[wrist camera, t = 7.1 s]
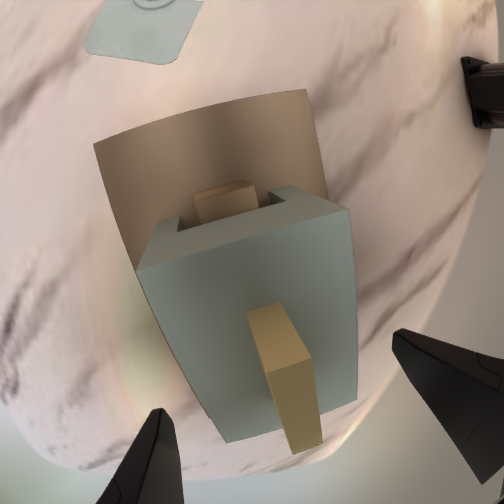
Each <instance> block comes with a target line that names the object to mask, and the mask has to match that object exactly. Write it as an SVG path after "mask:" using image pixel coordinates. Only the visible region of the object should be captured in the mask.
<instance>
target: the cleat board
mask: <svg viewBox="0 0 504 504" xmlns="http://www.w3.org/2000/svg"><path fill="white" fill-rule="evenodd" d="M93 146H94V150H95V153H96V157H97V161H98V165H99V168H100V172H101V175H102V179H103V182H104V185H105V189H106V192H107V195H108V198H109V201H110V205H111V208H112V211H113V214H114V217H115V220H116V222H117V225H118V228H119V231H120V234H121V236H122V239H123V242H124V245H125V247H126V250H127V253H128V255H129V258H130V260H131V263H132V265H133V268H134V270H135V273H136V269H137V266H138V264H139V262H140V259H141V257H142V255H143V253H144V250H145V248H146V246H147V244H148V241H149V239H150V237H151V235H152V233H153V231H154V228H155V226H156V224H157V223H159V222H162V221H165V220H168V219H171V218H174V217H178V216H180V219H181V222H182V225H183V228H184V230H186V229H190V228H193V227H196V226H200V225H203V224H206V223H210V222H213V221H217V220H220V219H223V218H227V217H230V216H234V215H237V214H241V213H245V212H248V211H252V210H255V209H259V208H263V207H266V206H270V205H272V204H271V200H270V195H269V190H273V189H277V188H281V187H285V186H289V185H292V186H294V187H297V188H299V189H302V190H304V191H307V192H309V193H312V194H314V195H317V196H319V197H321V198H324V199H326V200H328V194H327V188H326V182H325V177H324V171H323V165H322V160H321V155H320V150H319V144H318V140H317V135H316V130H315V125H314V121H313V116H312V112H311V107H310V103H309V99H308V95H307V91H306V89H300V90H292V91H285V92H278V93H271V94H265V95H259V96H254V97H248V98H243V99H238V100H233V101H229V102H224V103H220V104H215V105H211V106H207V107H203V108H199V109H195V110H191V111H188V112H184V113H181V114H177V115H174V116H170V117H167V118H164V119H160V120H157V121H154V122H151V123H148V124H145V125H142V126H139V127H136V128H133V129H131V130H128V131H125V132H122V133H120V134H117V135H114V136H112V137H109V138H107V139H104V140H102V141H99V142H97V143H94V144H93ZM136 275H137V273H136ZM137 278H138V276H137ZM138 280H139V278H138ZM139 282H140V281H139ZM140 285H141V283H140ZM141 287H142V285H141ZM142 290H143V288H142ZM143 292H144V290H143ZM144 294H145V292H144ZM145 296H146V295H145ZM146 299H147V297H146ZM147 301H148V299H147ZM148 303H149V301H148ZM149 305H150V304H149ZM150 308H151V306H150ZM151 310H152V308H151ZM152 312H153V310H152ZM153 314H154V312H153ZM154 316H155V314H154ZM155 319H156V317H155ZM156 321H157V319H156ZM157 323H158V321H157ZM158 325H159V323H158ZM159 327H160V325H159ZM160 329H161V327H160ZM161 331H162V329H161ZM162 333H163V331H162ZM163 335H164V333H163ZM164 337H165V335H164ZM165 339H166V337H165ZM166 341H167V339H166ZM167 343H168V341H167ZM168 345H169V343H168ZM169 347H170V345H169ZM170 349H171V347H170ZM171 351H172V349H171ZM172 353H173V351H172ZM173 355H174V353H173ZM174 357H175V355H174ZM175 359H176V357H175ZM176 361H177V359H176ZM177 363H178V361H177ZM178 365H179V363H178ZM179 367H180V368H181V366H180V365H179ZM181 370H182V368H181ZM182 372H183V370H182ZM183 374H184V372H183ZM184 376H185V374H184ZM185 378H186V379H187V377H186V376H185ZM187 381H188V379H187ZM188 383H189V381H188ZM189 385H190V383H189ZM190 387H191V388H192V386H191V385H190ZM192 390H193V388H192ZM193 392H194V390H193ZM194 394H195V395H196V393H195V392H194ZM196 397H197V395H196ZM197 399H198V397H197ZM198 401H199V402H200V400H199V399H198ZM200 404H201V402H200ZM201 406H202V407H203V405H202V404H201ZM203 409H204V407H203ZM204 411H205V412H206V410H205V409H204ZM206 414H207V412H206ZM207 416H208V417H209V415H208V414H207ZM209 418H210V417H209Z"/></svg>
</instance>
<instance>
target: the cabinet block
mask: <svg viewBox="0 0 504 504" xmlns="http://www.w3.org/2000/svg"><path fill="white" fill-rule="evenodd" d="M269 195H270V200H271V204H272V205H270V206H266V207H263V208H259V209H255V210H252V211H248V212H245V213H241V214H237V215H234V216H230V217H227V218H223V219H220V220H217V221H213V222H210V223H206V224H203V225H200V226H196V227H193V228H190V229H186V230H184V228H183V225H182V222H181V219H180V216H178V217H174V218H171V219H168V220H165V221H162V222H159V223H157V224H156V226H155V228H154V231H153V233H152V235H151V237H150V239H149V241H148V244H147V246H146V248H145V250H144V253H143V255H142V257H141V259H140V262H139V264H138V266H137V269H136V273H137V276H138V278H139V281H140V283H141V285H142V288H143V290H144V292H145V295H146V297H147V299H148V301H149V304H150V306H151V308H152V310H153V312H154V314H155V317H156V319H157V321H158V323H159V325H160V327H161V329H162V331H163V333H164V335H165V337H166V339H167V341H168V343H169V345H170V347H171V349H172V351H173V353H174V355H175V357H176V359H177V361H178V363H179V365H180V366H181V368H182V370H183V372H184V374H185V376H186V377H187V379H188V381H189V383H190V385H191V386H192V388H193V390H194V392H195V393H196V395H197V397H198V399H199V400H200V402H201V404H202V405H203V407H204V409H205V410H206V412H207V414H208V415H209V417H210V418H211V420H212V422H213V423H214V425H215V426H216V428H217V429H218V431H219V433H220V434H221V436H222V437H223V439H224V440H225V442H226V443H230V442H234V441H238V440H242V439H246V438H250V437H254V436H258V435H261V434H265V433H268V432H271V431H275V430H278V429H281V428H283V430H284V432H285V435H286V438H287V441H288V443H289V446H290V449H291V451H292V454H296V453H299V452H302V451H305V450H308V449H311V448H313V447H316V446H319V445H321V444H323V440H322V431H321V423H320V415H321V414H324V413H326V412H329V411H331V410H334V409H336V408H338V407H341V406H343V405H346V404H348V403H350V402H352V401H355V400H357V389H358V322H357V298H356V281H355V268H354V256H353V245H352V235H351V226H350V218H349V210H348V209H347V208H345V207H343V206H340V205H338V204H336V203H333V202H331V201H329V200H326V199H324V198H321V197H319V196H317V195H314V194H312V193H309V192H307V191H304V190H302V189H299V188H297V187H294V186H292V185H289V186H285V187H281V188H277V189H273V190H269Z"/></svg>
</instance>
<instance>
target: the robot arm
mask: <svg viewBox="0 0 504 504" xmlns="http://www.w3.org/2000/svg"><path fill="white" fill-rule="evenodd" d="M462 62H463V66H464V70H465V74H466V79H467V83H468V88H469V93H470V98H471V104H472V110H473V116H474V123H475V126H476V128H480V129H488V128H504V63H493V64H491V63H488V62H484V61H481V60H478V59H474V58H471V57H462ZM392 351H393V353H394V355H395V356H396V358H397V360H398V362H399V363H400V365H401V367H402V368H403V370H404V372H405V374H406V375H407V377H408V379H409V380H410V382H411V383H412V385H413V386H414V387H415V389H416V390H417V391H418V393H419V394H420V396H421V397H422V398H423V400H424V401H425V402H426V404H427V405H428V406H429V408H430V409H431V411H432V412H433V414H434V415H435V416H436V418H437V419H438V421H439V422H440V423H441V425H442V426H443V427H444V429H445V431H446V432H447V433H448V435H449V436H450V438H451V439H452V441H453V442H454V444H455V445H456V447H457V448H458V450H459V451H460V453H461V454H462V456H463V457H464V459H465V460H466V462H467V463H468V465H469V466H470V468H471V469H472V471H473V472H474V474H475V476H476V477H477V479H478V480H479V482H480V483H481V484H482V485H483V484H484V483H485V482H486V481H487V480H489V479H490V478H491V477H492V476H493V475H494V474H495V473H496V472H497V471H498V470H499V469H501V468H502V467H503V466H504V359H499V358H495V357H491V356H487V355H484V354H481V353H478V352H476V353H475V352H474V351H471V350H468V349H465V348H462V347H459V346H455V345H452V344H449V343H446V342H443V341H440V340H437V339H434V338H431V337H428V336H425V335H422V334H419V333H416V332H413V331H410V330H407V329H404V328H401V329H399V330H397V331H395V332H394V333H393V340H392ZM96 504H184V497H183V487H182V475H181V463H180V455H179V450H178V445H177V439H176V434H175V428H174V423H173V421H172V419H171V418H170V416H169V415H168V414H167V412H166V411H165V410H164V409H163V408H157V409H153V410H152V411H151V412H150V414H149V416H148V418H147V419H146V421H145V423H144V424H143V426H142V428H141V429H140V431H139V433H138V435H137V436H136V438H135V440H134V441H133V443H132V445H131V447H130V448H129V450H128V452H127V453H126V455H125V457H124V459H123V460H122V462H121V464H120V465H119V467H118V469H117V471H116V472H115V474H114V476H113V478H112V479H111V481H110V483H109V484H108V486H107V487H106V489H105V491H104V492H103V494H102V495H101V497H100V498H99V500H98V501H97V502H96ZM494 504H504V480H503V485H502V490H501V495H500V498H499V499H498V500H497V501H496V502H495V503H494Z"/></svg>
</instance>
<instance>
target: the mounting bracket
mask: <svg viewBox="0 0 504 504" xmlns="http://www.w3.org/2000/svg"><path fill="white" fill-rule="evenodd" d="M203 3H204V2H203V1H195V0H106V2H105V4H104V5H103V7H102V9H101V11H100V12H99V14H98V16H97V18H96V20H95V22H94V23H93V25H92V27H91V29H90V31H89V33H88V35H87V37H86V40H85V42H84V44H83V47H84V49H85V51H86V52H88V53H89V54H93V55H101V56H109V57H117V58H124V59H130V60H136V61H142V62H147V63H152V64H159V65H163V64H168V63H171V62H173V61H174V60H176V59H177V57H178V55H179V52H180V50H181V48H182V46H183V43H184V41H185V39H186V37H187V35H188V33H189V30H190V28H191V26H192V24H193V22H194V20H195V18H196V16H197V14H198V12H199V10H200V8H201V6H202V5H203Z"/></svg>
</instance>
